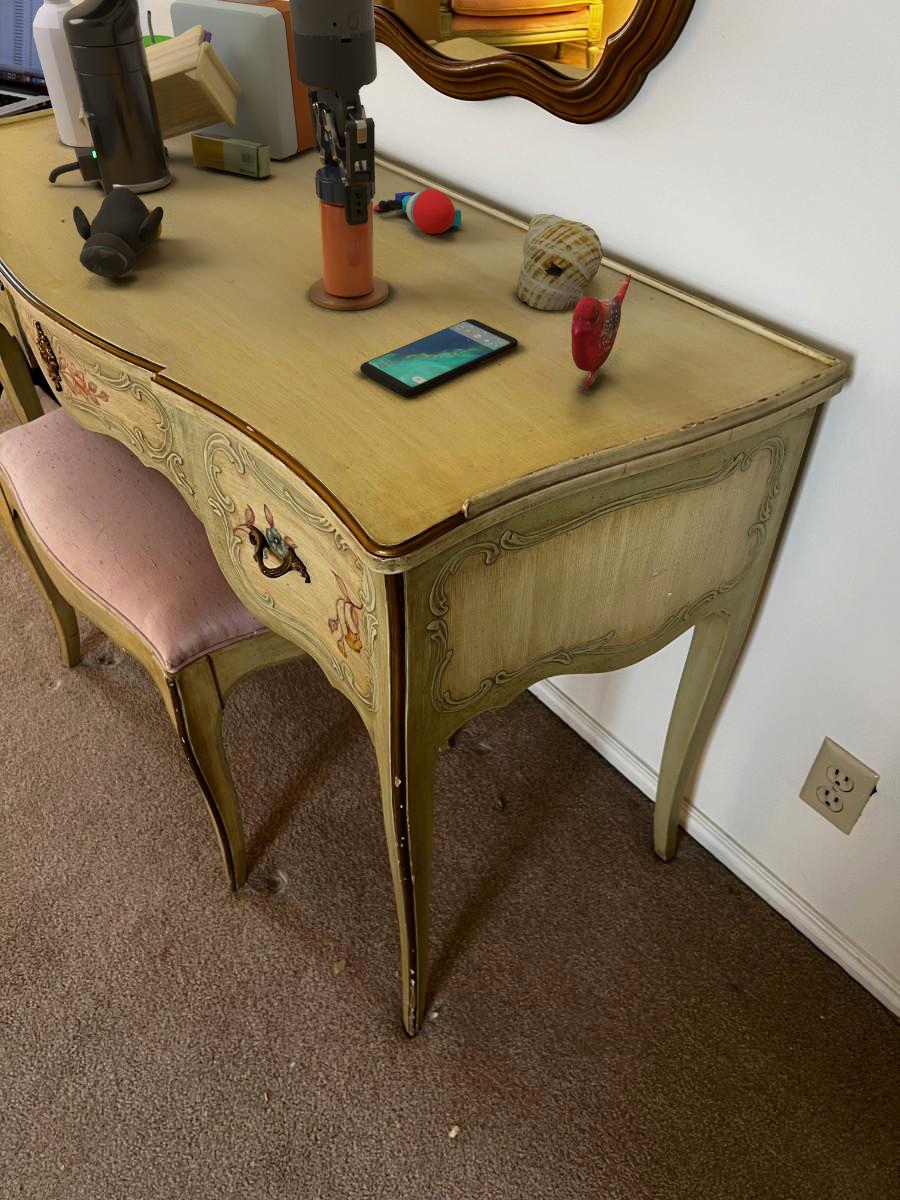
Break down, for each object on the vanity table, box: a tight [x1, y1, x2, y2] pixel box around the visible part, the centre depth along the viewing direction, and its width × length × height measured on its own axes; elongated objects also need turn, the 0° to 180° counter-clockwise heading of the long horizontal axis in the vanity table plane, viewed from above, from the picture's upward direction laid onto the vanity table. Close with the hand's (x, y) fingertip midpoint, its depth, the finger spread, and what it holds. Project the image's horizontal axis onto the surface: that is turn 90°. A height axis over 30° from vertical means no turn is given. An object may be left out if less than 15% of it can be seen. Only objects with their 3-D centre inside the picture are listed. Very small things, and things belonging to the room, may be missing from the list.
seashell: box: [516, 213, 604, 311], centre depth 99 cm, size 10×10×10 cm
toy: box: [72, 187, 164, 279], centre depth 104 cm, size 10×7×15 cm
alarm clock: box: [169, 0, 315, 160], centre depth 133 cm, size 18×9×21 cm, turn 58°
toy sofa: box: [79, 25, 241, 141], centre depth 129 cm, size 21×9×10 cm
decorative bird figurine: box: [570, 274, 632, 394], centre depth 84 cm, size 3×18×10 cm, turn 156°
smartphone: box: [359, 318, 519, 397], centre depth 89 cm, size 7×1×15 cm
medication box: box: [190, 132, 272, 179], centre depth 129 cm, size 12×3×4 cm, turn 62°
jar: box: [318, 199, 375, 297], centre depth 96 cm, size 5×5×11 cm
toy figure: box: [373, 188, 462, 235], centre depth 114 cm, size 8×5×15 cm
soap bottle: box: [32, 0, 91, 148], centre depth 134 cm, size 9×9×24 cm
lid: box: [314, 165, 376, 204], centre depth 93 cm, size 6×6×2 cm
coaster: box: [310, 275, 389, 311], centre depth 100 cm, size 8×8×1 cm
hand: (347, 212), depth 95 cm, fingers closed on lid, 5 cm apart
